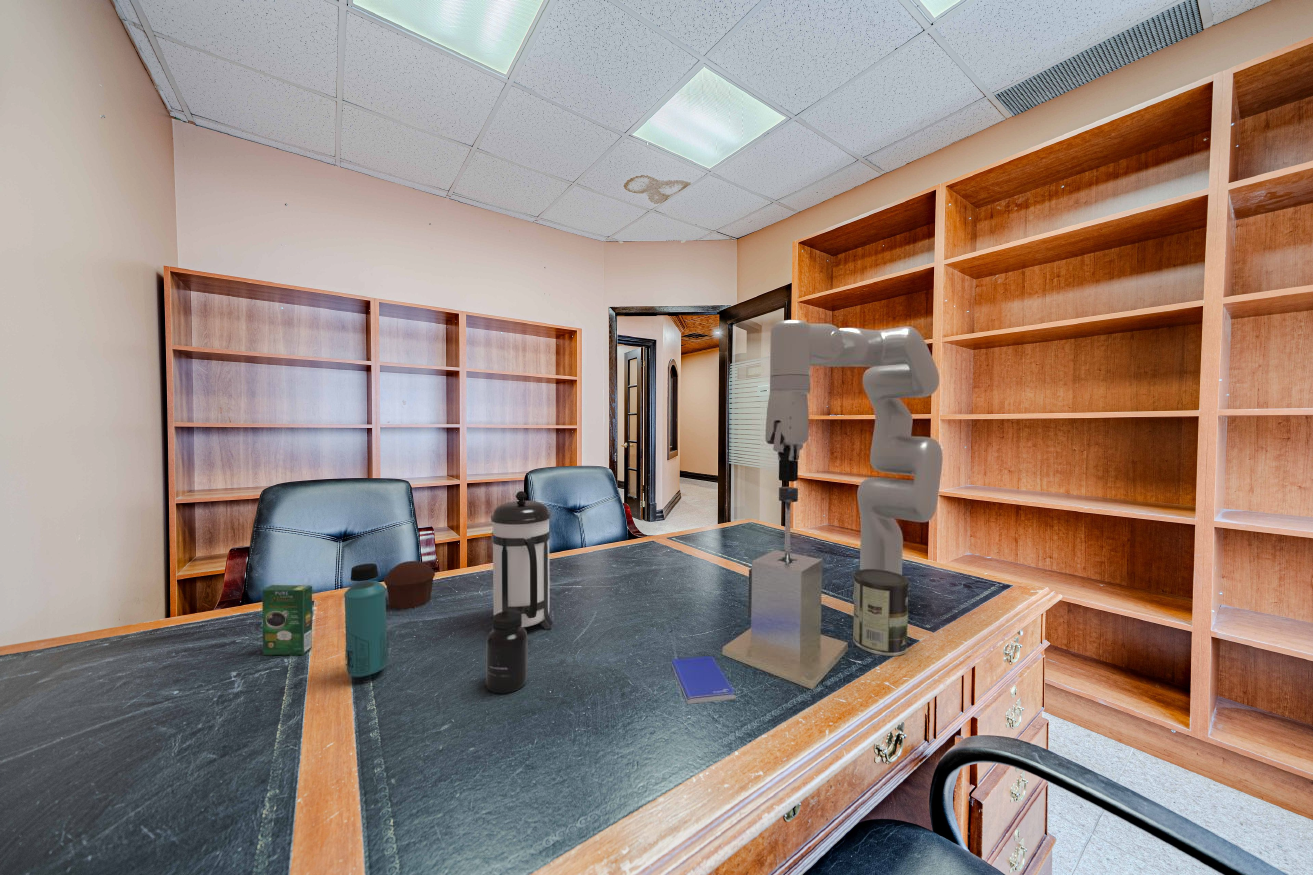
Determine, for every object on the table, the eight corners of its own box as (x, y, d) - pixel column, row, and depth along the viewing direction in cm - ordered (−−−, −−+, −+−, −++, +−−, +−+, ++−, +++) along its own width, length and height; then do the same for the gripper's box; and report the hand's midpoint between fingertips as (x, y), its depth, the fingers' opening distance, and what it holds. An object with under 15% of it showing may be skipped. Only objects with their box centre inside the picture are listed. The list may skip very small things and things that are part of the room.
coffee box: (315, 648, 93) (313, 583, 93) (304, 655, 91) (302, 588, 90) (273, 648, 93) (271, 583, 93) (261, 656, 90) (259, 589, 90)
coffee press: (467, 634, 100) (466, 494, 98) (516, 606, 114) (515, 484, 113) (535, 650, 93) (534, 500, 92) (577, 618, 108) (577, 489, 107)
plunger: (778, 564, 97) (780, 484, 96) (810, 571, 92) (812, 488, 92) (763, 572, 92) (764, 488, 91) (796, 580, 87) (797, 492, 86)
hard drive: (735, 692, 77) (713, 655, 89) (687, 697, 76) (671, 659, 88) (735, 701, 77) (712, 663, 89) (687, 706, 76) (671, 667, 88)
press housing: (765, 624, 105) (766, 542, 105) (847, 650, 94) (849, 558, 93) (722, 654, 92) (723, 561, 91) (812, 689, 80) (814, 582, 79)
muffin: (375, 604, 116) (374, 564, 115) (419, 590, 125) (419, 553, 124) (399, 616, 109) (399, 573, 108) (444, 600, 118) (444, 561, 118)
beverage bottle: (396, 669, 86) (395, 561, 85) (363, 689, 79) (361, 573, 79) (370, 663, 88) (368, 558, 87) (335, 682, 81) (333, 568, 81)
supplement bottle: (489, 699, 77) (488, 627, 76) (483, 678, 83) (483, 612, 82) (531, 688, 80) (531, 619, 79) (523, 669, 86) (522, 605, 85)
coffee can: (898, 635, 100) (900, 570, 100) (914, 659, 90) (916, 587, 90) (847, 630, 102) (848, 566, 102) (858, 653, 92) (859, 583, 92)
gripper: (788, 389, 99) (786, 475, 99) (753, 384, 87) (752, 482, 88) (823, 387, 94) (821, 478, 94) (791, 383, 82) (789, 486, 83)
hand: (788, 480), depth 91 cm, fingers closed
